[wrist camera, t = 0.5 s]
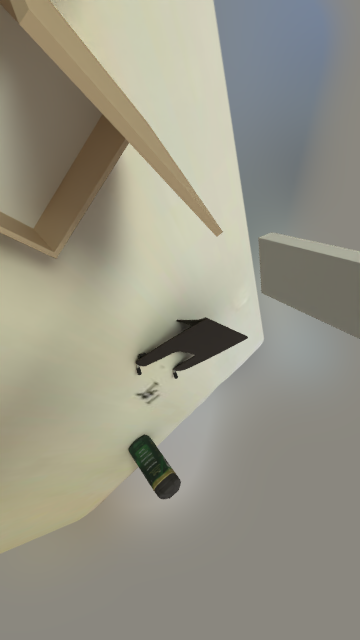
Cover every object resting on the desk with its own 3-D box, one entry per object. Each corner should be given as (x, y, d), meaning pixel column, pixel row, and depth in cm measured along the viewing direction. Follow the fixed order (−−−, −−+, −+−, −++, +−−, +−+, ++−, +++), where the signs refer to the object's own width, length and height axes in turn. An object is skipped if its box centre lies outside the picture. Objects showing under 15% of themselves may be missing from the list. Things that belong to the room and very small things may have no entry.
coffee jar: (124, 448, 93) (158, 501, 83) (144, 431, 96) (180, 480, 85) (133, 455, 101) (166, 505, 90) (152, 439, 103) (185, 486, 93)
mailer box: (-130, 149, 27) (-127, 173, 23) (-36, -44, 25) (-12, -60, 20) (33, 233, 40) (56, 258, 36) (106, 112, 38) (140, 123, 33)
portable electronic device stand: (119, 339, 72) (127, 374, 68) (195, 290, 63) (209, 328, 59) (173, 351, 91) (182, 379, 87) (238, 315, 82) (251, 345, 78)
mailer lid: (18, 24, 11) (28, 9, 10) (-14, -64, 20) (-9, -73, 19) (216, 236, 24) (222, 231, 24) (144, 127, 33) (147, 123, 33)
